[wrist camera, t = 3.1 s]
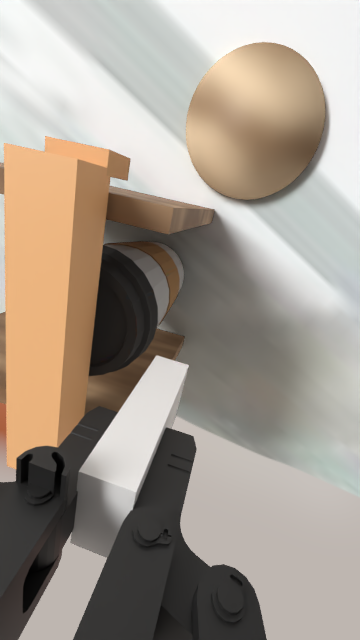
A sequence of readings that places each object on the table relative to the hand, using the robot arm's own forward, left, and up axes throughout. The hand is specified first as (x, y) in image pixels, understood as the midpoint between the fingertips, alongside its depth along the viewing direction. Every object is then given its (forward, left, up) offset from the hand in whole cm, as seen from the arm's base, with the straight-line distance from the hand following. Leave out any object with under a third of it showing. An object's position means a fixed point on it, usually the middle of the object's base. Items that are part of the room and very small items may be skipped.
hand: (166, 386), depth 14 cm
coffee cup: (0, -6, -19) cm, 20 cm away
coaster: (-14, 0, -18) cm, 23 cm away
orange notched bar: (0, -6, -4) cm, 8 cm away
